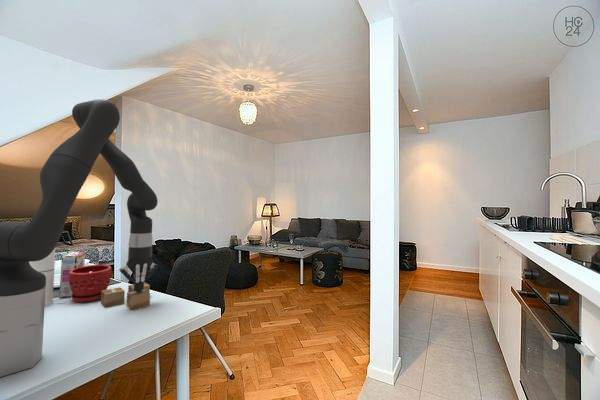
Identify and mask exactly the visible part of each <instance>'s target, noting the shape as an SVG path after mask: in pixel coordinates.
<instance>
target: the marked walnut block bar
mask: <svg viewBox="0 0 600 400" xmlns="http://www.w3.org/2000/svg"><path fill="white" fill-rule="evenodd" d="M100 304H101V306H103V308H104V309H107V308H110V307H111V308H112V307H116V306H120V305H124V304H125V290H124V289H123V288H122V287H114V288H107V290H102V291H101V299H100Z"/></svg>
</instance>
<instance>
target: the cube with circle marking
mask: <svg viewBox="0 0 600 400" xmlns="http://www.w3.org/2000/svg"><path fill="white" fill-rule="evenodd" d="M127 286H128V287H127V289H128V290H127V293H128V292H134V283H132V284H128V285H127ZM150 288H151V285H150V284H148V283H146V282H145V281H144V289H145V290H147V291H148V292H149V293H151V291H150ZM144 289H143V290H144Z"/></svg>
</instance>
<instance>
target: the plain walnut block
mask: <svg viewBox="0 0 600 400" xmlns="http://www.w3.org/2000/svg"><path fill="white" fill-rule="evenodd" d="M150 303H151V292H148V291H147V290H145V289H144V290H142V292H138V293H137V292H136V291H134V292H128V291H127V292H126V304H125V305H126V307H127V309H129V310H130V311H131V310H132V311H135V309H136V310H140V309H139V308H141V309H145V308H148V307H147V306H149V307H150V305H151V304H150ZM144 307H145V308H144Z"/></svg>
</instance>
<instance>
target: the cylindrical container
mask: <svg viewBox="0 0 600 400" xmlns="http://www.w3.org/2000/svg"><path fill="white" fill-rule="evenodd" d="M55 261H56V247H55V248H54V250H53V251H52V253H51V254H50V255H49V256H47V257H46V258H44V259H42V260H40V261H29V264H30V265H31V267H32V268H33V269H35V270H36V271H38V272H40V273H42V274H44V275H45V277H46V290H45V307H48V306H50V305H53V301H54V300H53V299H54V284H55V283H54V282H55V266H56V265H55V264H56V263H55Z"/></svg>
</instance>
